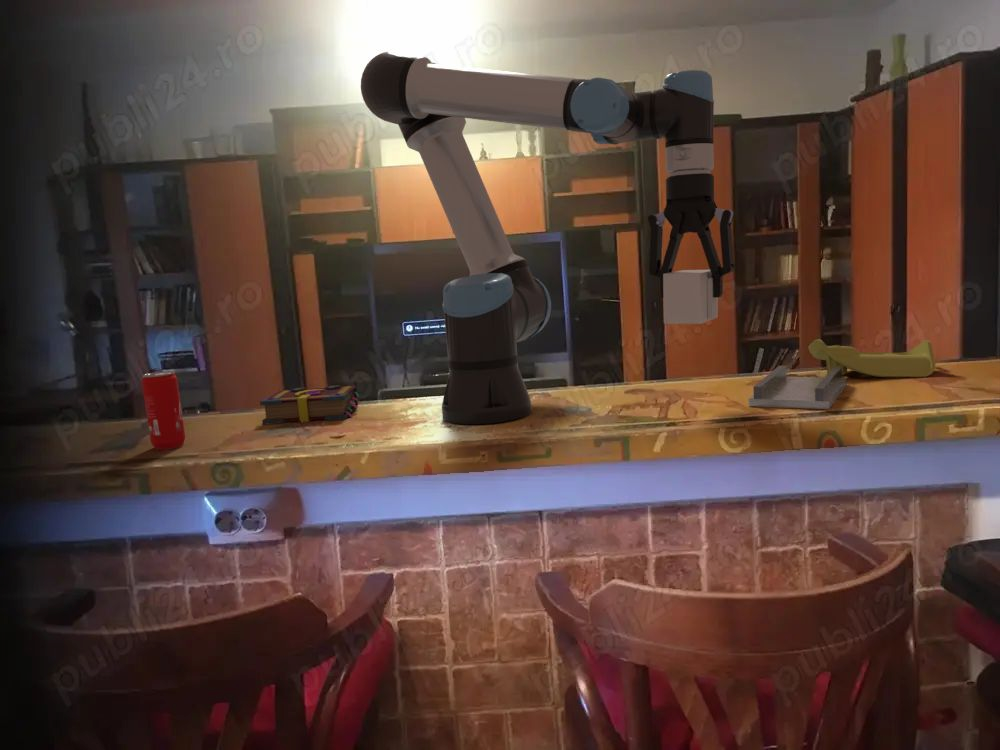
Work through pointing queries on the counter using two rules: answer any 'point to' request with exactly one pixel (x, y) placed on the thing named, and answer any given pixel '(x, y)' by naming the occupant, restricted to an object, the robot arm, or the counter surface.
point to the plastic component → (877, 360)
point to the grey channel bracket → (798, 390)
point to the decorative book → (311, 404)
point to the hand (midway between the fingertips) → (691, 317)
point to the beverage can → (163, 410)
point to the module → (686, 297)
